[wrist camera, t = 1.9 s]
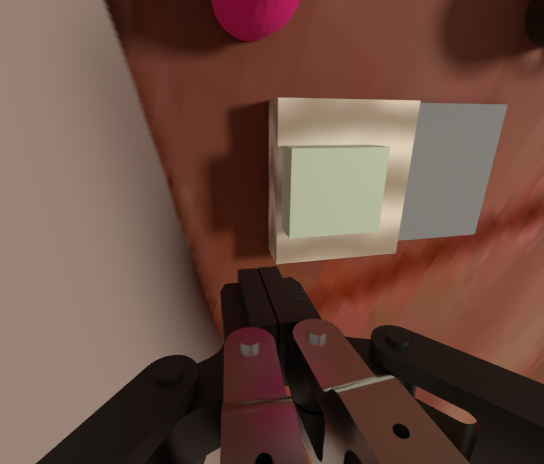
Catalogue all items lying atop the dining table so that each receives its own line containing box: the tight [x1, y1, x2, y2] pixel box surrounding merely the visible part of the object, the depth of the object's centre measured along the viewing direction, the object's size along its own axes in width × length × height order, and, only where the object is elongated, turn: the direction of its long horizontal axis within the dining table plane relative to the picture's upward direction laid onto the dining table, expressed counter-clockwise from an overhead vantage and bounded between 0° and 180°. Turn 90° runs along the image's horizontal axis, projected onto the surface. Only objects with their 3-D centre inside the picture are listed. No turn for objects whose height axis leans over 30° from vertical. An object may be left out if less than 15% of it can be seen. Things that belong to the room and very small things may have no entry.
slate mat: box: [398, 103, 508, 241], centre depth 37 cm, size 16×14×1 cm
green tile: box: [282, 144, 390, 239], centre depth 29 cm, size 8×9×3 cm
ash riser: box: [269, 98, 420, 264], centre depth 32 cm, size 16×14×4 cm
